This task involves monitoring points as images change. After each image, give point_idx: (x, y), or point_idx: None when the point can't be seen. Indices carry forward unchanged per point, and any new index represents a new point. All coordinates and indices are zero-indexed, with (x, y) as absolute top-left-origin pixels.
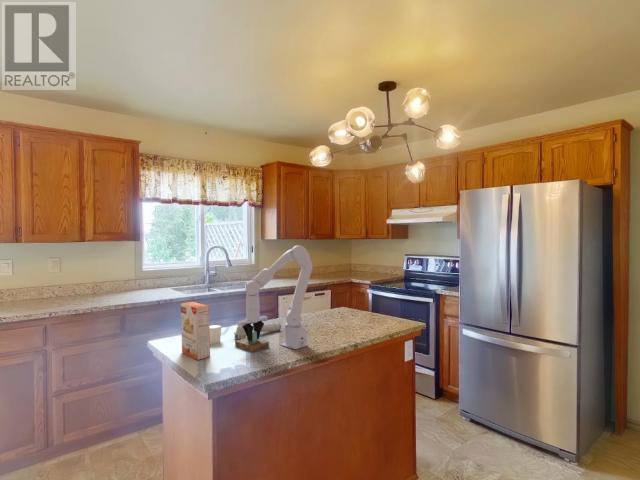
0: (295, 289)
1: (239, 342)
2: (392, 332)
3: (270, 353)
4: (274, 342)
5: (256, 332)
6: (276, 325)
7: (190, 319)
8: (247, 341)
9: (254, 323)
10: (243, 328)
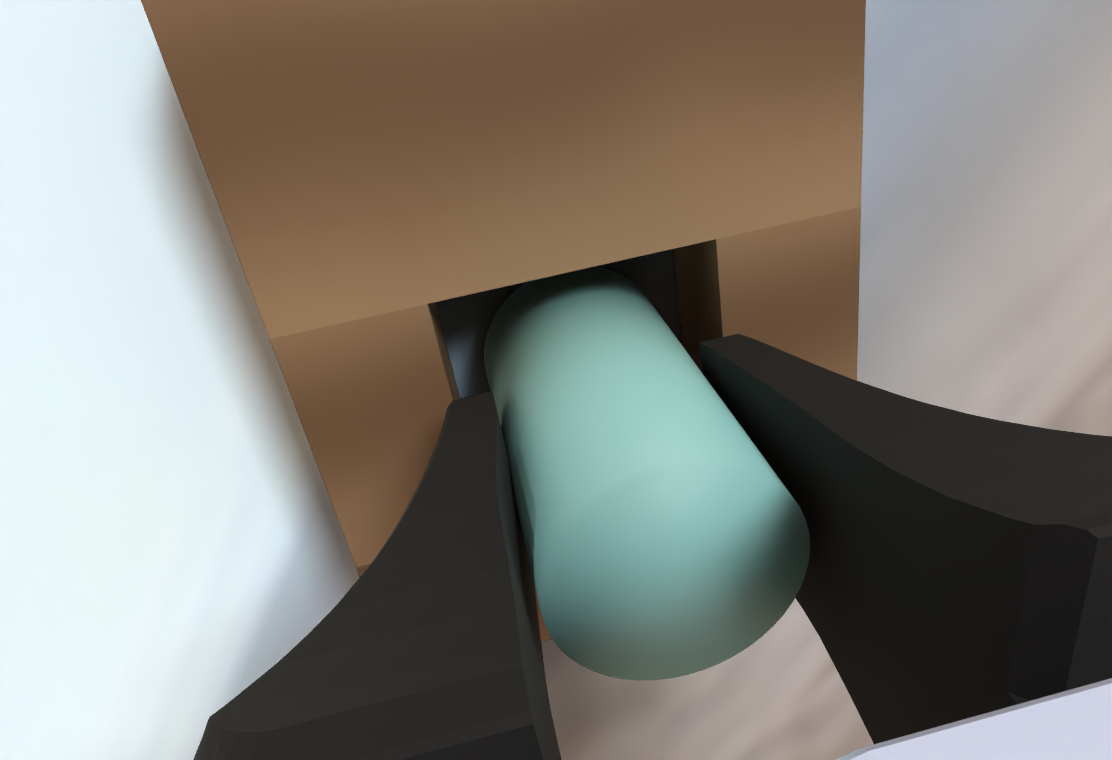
0: None
1: (229, 232)
2: None
3: (622, 746)
4: (1084, 275)
5: (735, 641)
6: None
7: None
8: (480, 283)
9: (1020, 662)
10: (288, 668)
